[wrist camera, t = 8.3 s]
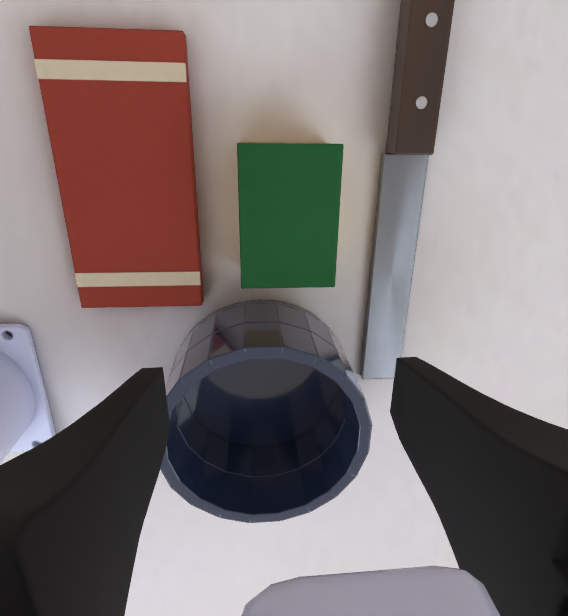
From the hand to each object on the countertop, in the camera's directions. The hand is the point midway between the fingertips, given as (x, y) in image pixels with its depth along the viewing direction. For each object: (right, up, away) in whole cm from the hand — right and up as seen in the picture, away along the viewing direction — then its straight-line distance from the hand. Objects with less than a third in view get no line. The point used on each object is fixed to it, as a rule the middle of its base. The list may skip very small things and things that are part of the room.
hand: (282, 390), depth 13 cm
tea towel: (-7, +8, +7) cm, 13 cm away
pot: (-1, -2, +11) cm, 12 cm away
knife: (+6, +7, +9) cm, 12 cm away
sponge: (0, +7, +8) cm, 11 cm away
